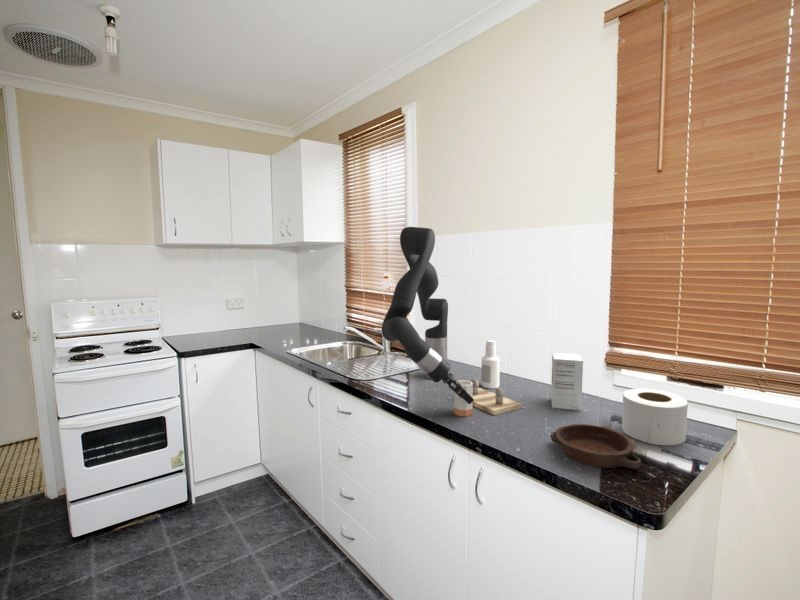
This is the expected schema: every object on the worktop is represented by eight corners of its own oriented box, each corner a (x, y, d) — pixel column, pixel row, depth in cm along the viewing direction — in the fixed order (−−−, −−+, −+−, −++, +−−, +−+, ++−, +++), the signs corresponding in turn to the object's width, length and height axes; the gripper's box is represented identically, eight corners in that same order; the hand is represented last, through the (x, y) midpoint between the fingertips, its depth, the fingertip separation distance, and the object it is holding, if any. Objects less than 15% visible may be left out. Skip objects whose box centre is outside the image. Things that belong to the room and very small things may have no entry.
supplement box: (550, 398, 147) (551, 352, 145) (578, 401, 144) (580, 353, 142) (551, 408, 138) (553, 358, 136) (581, 411, 135) (583, 360, 133)
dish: (565, 432, 119) (565, 416, 119) (652, 458, 103) (653, 439, 103) (535, 453, 107) (536, 434, 106) (629, 486, 91) (630, 464, 91)
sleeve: (450, 411, 136) (450, 382, 135) (464, 408, 139) (464, 379, 138) (462, 417, 131) (462, 386, 130) (476, 413, 134) (476, 383, 133)
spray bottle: (484, 382, 167) (485, 338, 165) (501, 385, 163) (502, 340, 161) (478, 387, 161) (479, 341, 159) (496, 389, 157) (496, 343, 156)
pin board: (454, 397, 149) (454, 380, 149) (480, 391, 155) (480, 374, 155) (494, 415, 132) (494, 395, 132) (521, 407, 138) (521, 389, 138)
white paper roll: (671, 451, 107) (673, 410, 106) (611, 431, 119) (613, 395, 118) (694, 435, 116) (697, 398, 115) (636, 418, 128) (638, 384, 127)
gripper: (445, 361, 125) (483, 397, 127) (435, 350, 139) (470, 383, 141) (428, 379, 124) (466, 415, 127) (420, 366, 139) (454, 399, 141)
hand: (468, 398), depth 134 cm, fingers closed on sleeve, 6 cm apart
